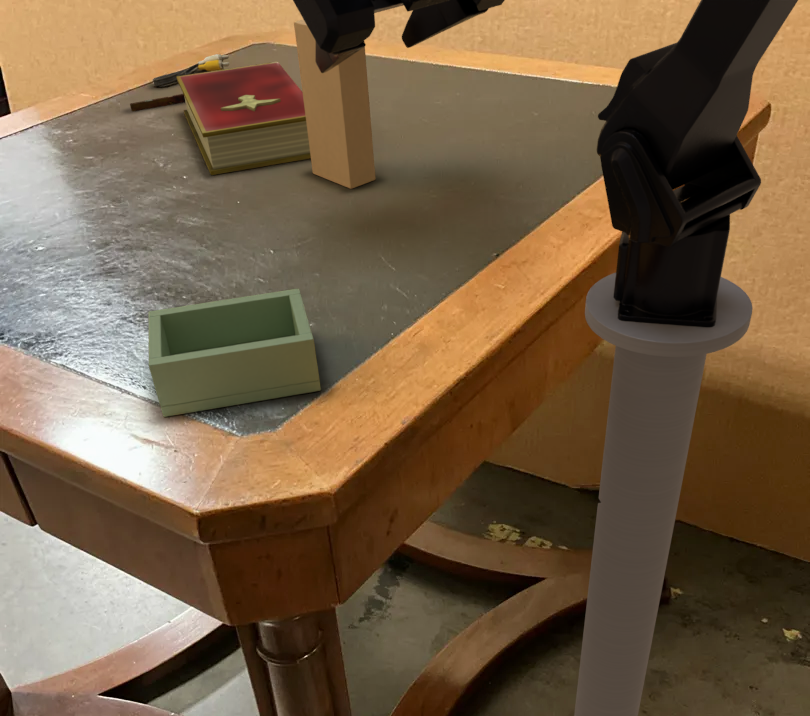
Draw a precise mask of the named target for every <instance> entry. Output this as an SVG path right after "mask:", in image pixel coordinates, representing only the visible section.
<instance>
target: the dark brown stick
mask: <svg viewBox="0 0 810 716" xmlns="http://www.w3.org/2000/svg"><path fill="white" fill-rule="evenodd" d="M183 103H186V102H185V97H184V94H183V93H180V94H174V95H172V96H163V97H159V98H151V99H145V100H142V101H136V102H130V103H129V106H130V110H131V111H132V112H138V111H143V110H149V109H155V108H161V107H166V106H171V105H178V104H183Z"/></svg>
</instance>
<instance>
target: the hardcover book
mask: <svg viewBox="0 0 810 716" xmlns="http://www.w3.org/2000/svg"><path fill="white" fill-rule="evenodd" d="M177 83H178V86H179V87H180V90H181V92H182V94H184V97H185V102H184V103H185V107H186V109H183V114H184V117H185V119H186V122H187V123H188V126H189V128H190V131H191V132H192V133H191V134H192V135H193V137H194V139H195V142H196V145H197V147H198V149H199V151H200V153H201V155H202V158H203V160H204V163H205V165H206V167H207V169H208V172H209V173H210V176H214V175H221V174H226V173H231V172H239V171H244V170H250V169H256V168H261V167H268V166H274V165H278V164H279V165H280V164H285V163H291V162H296V161H303V160H309V159H310V160H311V155H310V147H309V139H308V131H307V123H306V115H305V107H304V100H303V92H302V89H301V88H300V87H299V85H297V84H296V82H295V81H294V80H293V79H292V77H291V76H290V75H289V74H288V72H287V71H286V70H285V69H284V67H283V66H282V65H281V64H280V62H279V61H272V62H265V63H259V64H252V65H245V66H238V67H231V68H224V70H217V71H211V72H204V73H197V74H190V75H184V76H177Z"/></svg>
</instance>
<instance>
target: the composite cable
mask: <svg viewBox="0 0 810 716" xmlns="http://www.w3.org/2000/svg"><path fill="white" fill-rule="evenodd" d="M229 58H230V55H228V54H221V53H220V54H218V53H216V54H212V55H208V56H206V57H205V58H204V59H203V60H200V61H197V63H195V64H193V65H191V66H189V67H188V68H186V69H182V70H179V71H174V72H170V73H166V74H162V75H159V76H157V77H154V78H152V82H153V85H154V87H162V86H167V85H170V84H173V83H178V81H177V76H184V75H190V74H197V73H204V72H211V71H217V70H224V69H225V68H224V67H229V66H230V62H229V61H228V62H224V60H228V59H229Z"/></svg>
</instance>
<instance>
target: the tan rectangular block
mask: <svg viewBox="0 0 810 716" xmlns="http://www.w3.org/2000/svg"><path fill="white" fill-rule="evenodd" d="M293 26H294V35H295V45H296V51H297V58H298V59H297V60H298V67H299V75H300V82H301V91H302V92H303V100H304V107H305V115H306V123H307V131H308V139H309V147H310V155H311V158H310V161H311V169H312V170H311V171H312V174H314V175H316V176H318V177H321V178H322V179H326V180H328V181H330V182H333V183H335V184H337V185H340V186H342V187H345V188H347V189H350V190H352V189H355V188H357V187H360V186H362V185H366V184H368V183H370V182H373V181H375V180H376V168H375V156H374V155H375V154H374V142H373V132H372V131H373V130H372V119H371V118H372V117H371V107H370V93H369V81H368V70H367V69H368V67H367V56H366V46H365V47H364V48H362V49H361V50H359V51H358V52H356V53H355V54H353V55H352V56H350V57H349V58H347V59H346V60H344V61H343V62H341V63H340V64H338V65H337V66H335V67H334V68H332V69H331V70H329V71H327V72H325V73H321V71H320V70H319V68H318V66H317V64H316V61H315V47H316V40H315V39H314V37H313V35H312V33H311V32H310V30H309V28H308V26H307V25H306V23H305V21H304V19H303V18H302V19H299V20H296V21H293Z"/></svg>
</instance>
